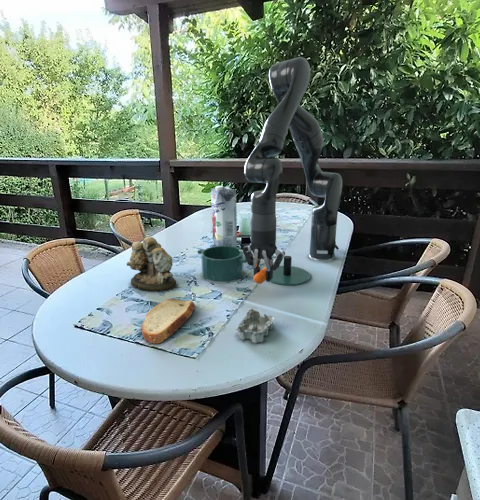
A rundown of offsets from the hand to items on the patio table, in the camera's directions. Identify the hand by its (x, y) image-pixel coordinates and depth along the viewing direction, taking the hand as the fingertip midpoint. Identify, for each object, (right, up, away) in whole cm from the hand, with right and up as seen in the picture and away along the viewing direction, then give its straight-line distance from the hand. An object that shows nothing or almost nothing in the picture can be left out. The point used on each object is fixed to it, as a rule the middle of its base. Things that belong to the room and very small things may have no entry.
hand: (263, 279), depth 114 cm
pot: (-12, 0, +19) cm, 22 cm away
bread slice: (-28, -11, -10) cm, 32 cm away
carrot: (0, 0, 0) cm, 0 cm away
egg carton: (-4, -13, -17) cm, 22 cm away
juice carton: (-9, +10, +46) cm, 48 cm away
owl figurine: (-37, -3, +14) cm, 39 cm away
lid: (+11, 0, +14) cm, 18 cm away
